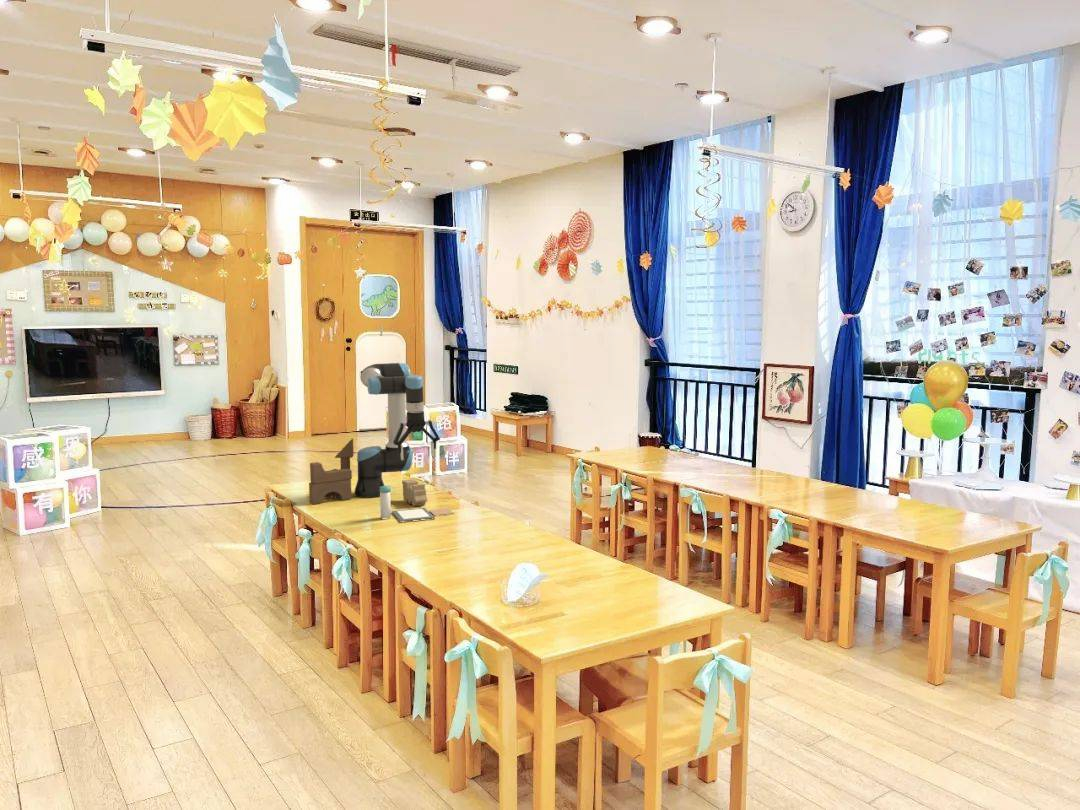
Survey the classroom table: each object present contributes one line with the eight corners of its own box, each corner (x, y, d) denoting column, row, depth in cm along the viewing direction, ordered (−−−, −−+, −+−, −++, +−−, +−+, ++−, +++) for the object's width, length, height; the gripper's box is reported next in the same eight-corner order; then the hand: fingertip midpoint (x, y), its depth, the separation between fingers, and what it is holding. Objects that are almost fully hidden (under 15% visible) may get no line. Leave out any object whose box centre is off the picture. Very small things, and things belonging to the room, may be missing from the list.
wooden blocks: (347, 490, 402) (345, 435, 398) (362, 498, 386) (360, 441, 382) (299, 496, 388) (297, 440, 385) (312, 505, 372) (310, 446, 368)
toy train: (416, 508, 367) (415, 486, 366) (402, 500, 381) (401, 479, 380) (427, 506, 370) (426, 485, 368) (413, 498, 384) (412, 478, 383)
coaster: (429, 511, 360) (429, 510, 360) (448, 509, 364) (448, 508, 364) (434, 516, 352) (434, 515, 352) (453, 514, 356) (453, 513, 355)
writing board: (392, 512, 358) (392, 510, 358) (424, 509, 364) (424, 507, 364) (400, 522, 342) (400, 520, 342) (434, 519, 348) (434, 517, 347)
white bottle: (379, 517, 351) (378, 486, 349) (389, 516, 352) (389, 485, 351) (381, 519, 346) (380, 488, 345) (392, 518, 348) (391, 487, 346)
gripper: (387, 415, 338) (390, 463, 343) (445, 410, 346) (447, 456, 351) (385, 411, 345) (387, 458, 350) (441, 406, 353) (443, 452, 358)
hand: (417, 457), depth 350 cm, fingers open, 13 cm apart
